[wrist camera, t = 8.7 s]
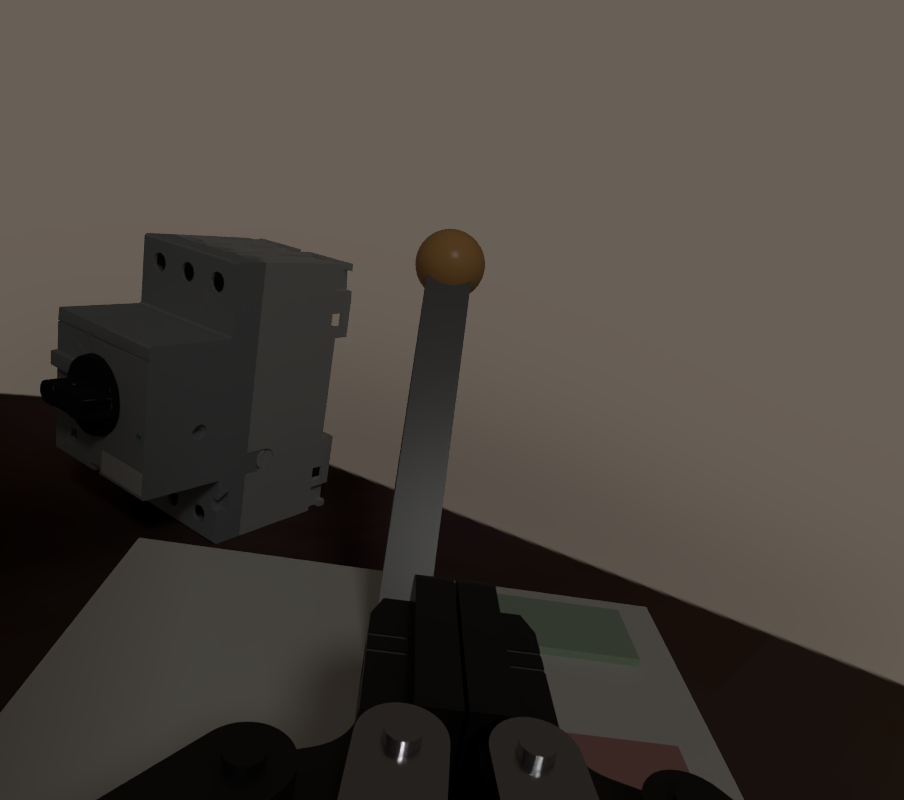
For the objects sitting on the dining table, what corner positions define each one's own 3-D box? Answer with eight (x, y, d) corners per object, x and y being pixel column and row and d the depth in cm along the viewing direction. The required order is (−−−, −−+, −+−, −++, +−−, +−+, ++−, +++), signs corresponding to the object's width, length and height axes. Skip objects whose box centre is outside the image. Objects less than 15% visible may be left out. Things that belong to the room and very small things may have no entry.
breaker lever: (354, 653, 21) (423, 209, 26) (354, 651, 24) (417, 245, 29) (440, 664, 22) (494, 222, 27) (432, 660, 24) (482, 257, 29)
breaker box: (-59, 973, 18) (-66, 785, 16) (132, 659, 29) (139, 530, 27) (724, 1040, 19) (791, 876, 18) (614, 718, 31) (648, 600, 29)
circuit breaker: (21, 521, 37) (22, 226, 33) (243, 462, 49) (266, 238, 45) (103, 584, 34) (116, 260, 29) (323, 504, 45) (355, 264, 41)
